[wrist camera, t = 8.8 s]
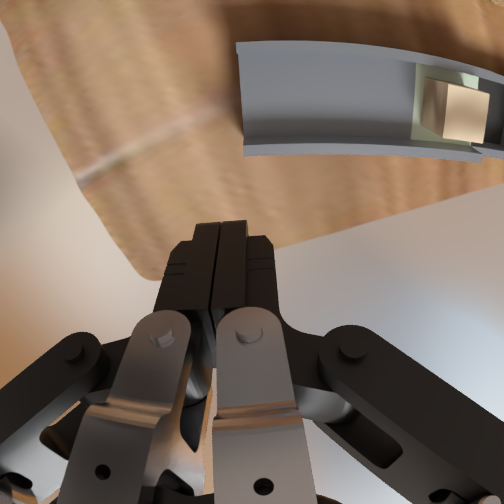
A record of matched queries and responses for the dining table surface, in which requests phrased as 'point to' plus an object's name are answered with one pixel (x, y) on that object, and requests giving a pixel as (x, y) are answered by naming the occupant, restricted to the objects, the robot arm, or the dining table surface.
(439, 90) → the wood block
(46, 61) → the dining table surface
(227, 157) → the dining table surface
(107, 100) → the dining table surface
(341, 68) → the channel deck
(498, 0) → the sprinkles bottle
